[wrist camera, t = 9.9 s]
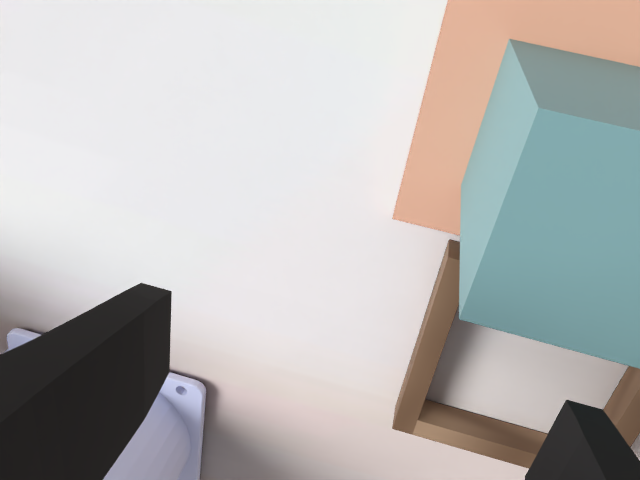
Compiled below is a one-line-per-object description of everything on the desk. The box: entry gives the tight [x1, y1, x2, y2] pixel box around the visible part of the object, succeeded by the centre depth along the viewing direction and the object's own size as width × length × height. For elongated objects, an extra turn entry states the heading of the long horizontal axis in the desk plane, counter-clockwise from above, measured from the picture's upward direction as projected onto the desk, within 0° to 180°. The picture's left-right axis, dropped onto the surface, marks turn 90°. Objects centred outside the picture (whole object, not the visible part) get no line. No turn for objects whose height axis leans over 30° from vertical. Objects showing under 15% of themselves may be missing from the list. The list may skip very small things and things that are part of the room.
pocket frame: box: [392, 240, 640, 468], centre depth 20 cm, size 8×8×1 cm
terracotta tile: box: [392, 0, 640, 235], centre depth 16 cm, size 8×8×1 cm
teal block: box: [459, 39, 640, 369], centre depth 13 cm, size 4×4×7 cm
